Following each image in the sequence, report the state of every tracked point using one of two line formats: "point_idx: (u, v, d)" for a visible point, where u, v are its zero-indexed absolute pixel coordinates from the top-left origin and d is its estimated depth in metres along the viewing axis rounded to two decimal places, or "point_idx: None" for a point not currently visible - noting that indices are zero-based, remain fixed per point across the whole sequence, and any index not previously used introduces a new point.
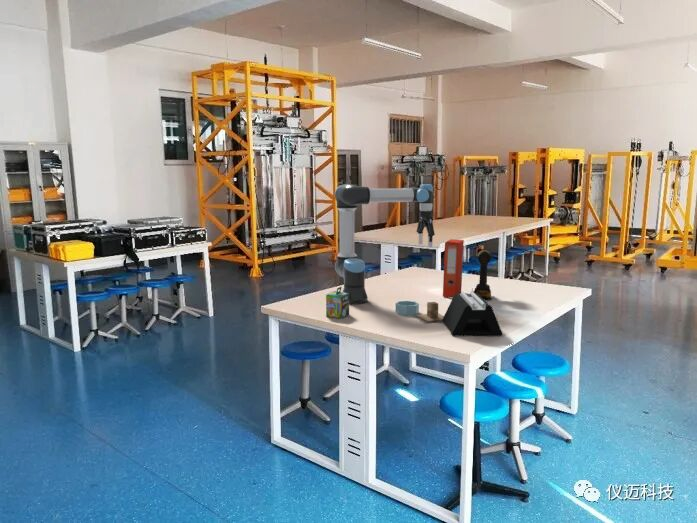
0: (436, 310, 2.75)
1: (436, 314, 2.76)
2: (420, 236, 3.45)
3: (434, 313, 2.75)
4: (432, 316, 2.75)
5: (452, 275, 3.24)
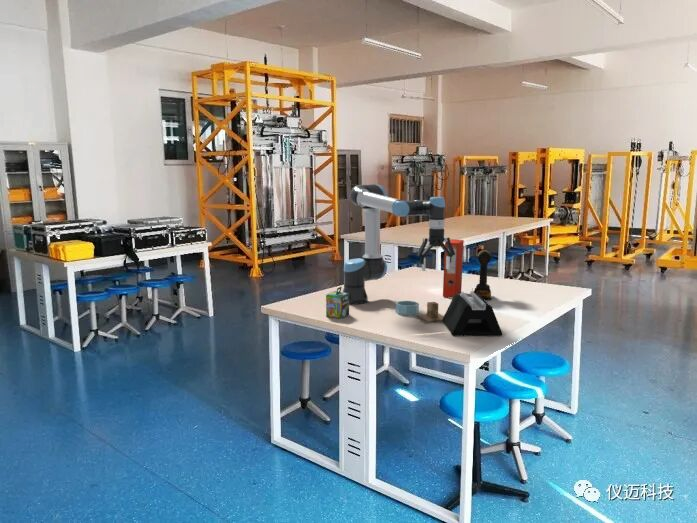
0: (436, 310, 2.75)
1: (436, 314, 2.76)
2: (447, 259, 2.87)
3: (434, 313, 2.75)
4: (432, 316, 2.75)
5: (452, 275, 3.24)
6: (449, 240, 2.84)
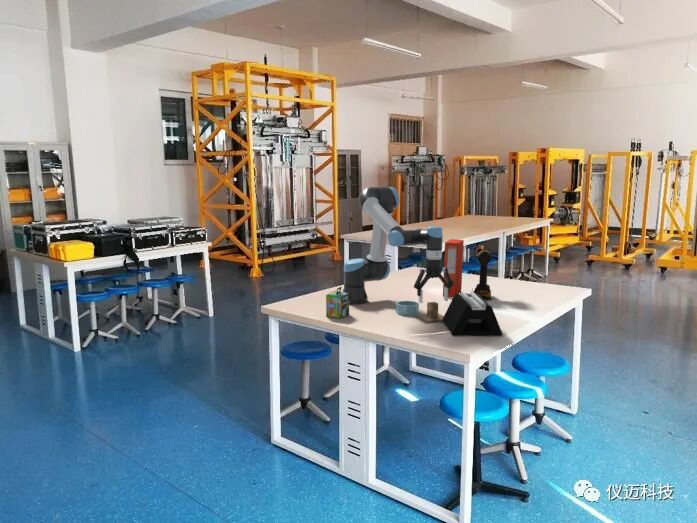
0: (436, 310, 2.75)
1: (436, 314, 2.76)
2: (445, 290, 2.77)
3: (434, 313, 2.75)
4: (432, 316, 2.75)
5: (452, 275, 3.24)
6: (447, 271, 2.75)
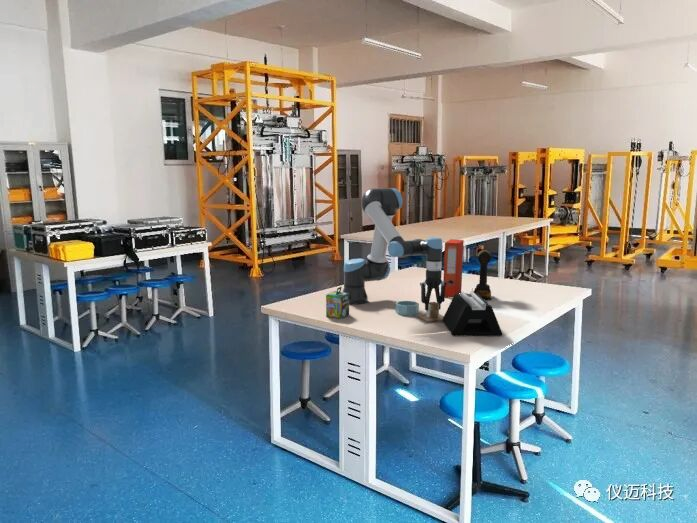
0: (436, 310, 2.75)
1: (436, 314, 2.76)
2: None
3: (434, 313, 2.75)
4: (432, 316, 2.75)
5: (452, 275, 3.24)
6: (445, 285, 2.76)
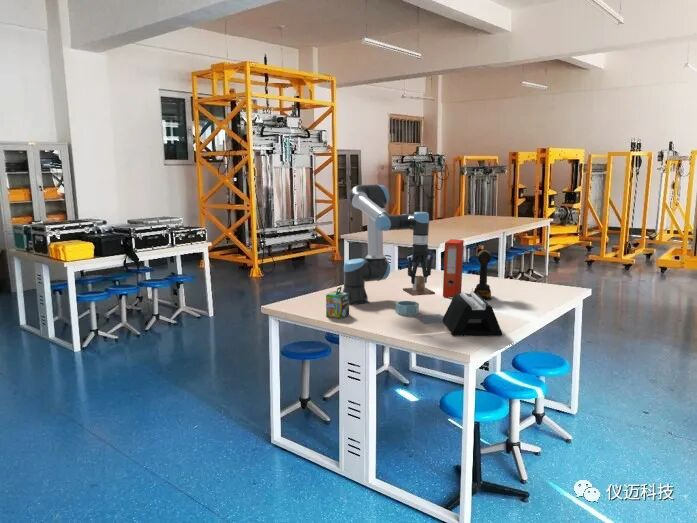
0: (422, 283, 2.80)
1: (422, 287, 2.81)
2: None
3: (420, 286, 2.80)
4: (418, 289, 2.80)
5: (452, 275, 3.24)
6: (431, 259, 2.80)
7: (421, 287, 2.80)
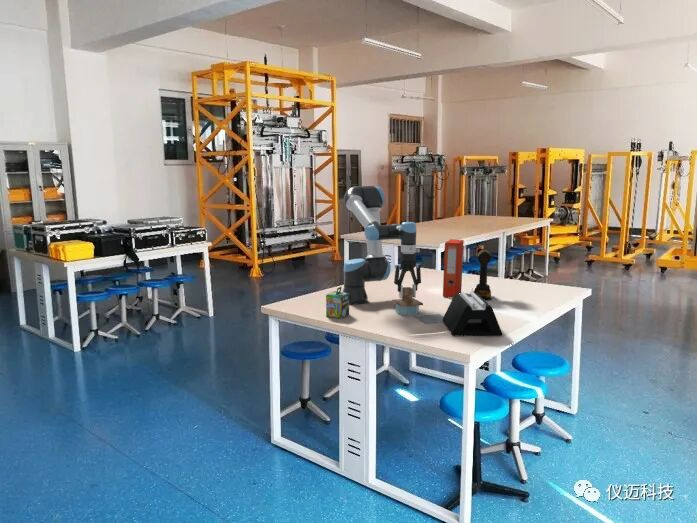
0: (410, 295, 2.86)
1: (411, 299, 2.87)
2: (413, 287, 2.89)
3: (409, 298, 2.86)
4: (407, 300, 2.86)
5: (452, 275, 3.24)
6: (420, 267, 2.87)
7: (409, 298, 2.87)
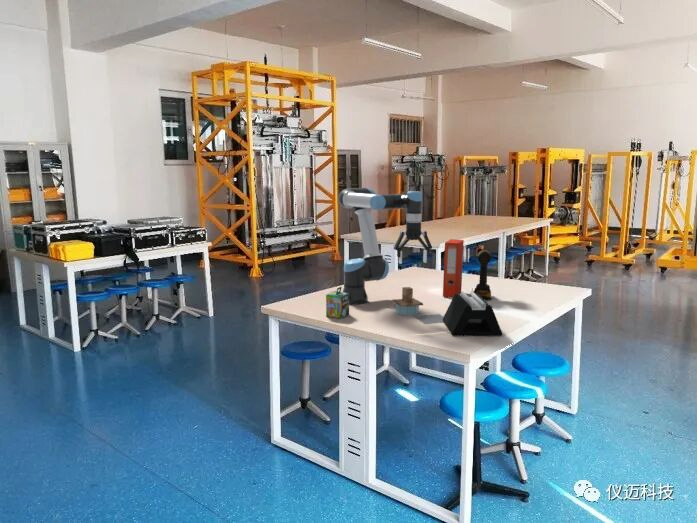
0: (410, 295, 2.86)
1: (411, 299, 2.87)
2: (424, 253, 2.92)
3: (409, 298, 2.86)
4: (407, 300, 2.86)
5: (452, 275, 3.24)
6: (426, 234, 2.89)
7: (409, 298, 2.87)
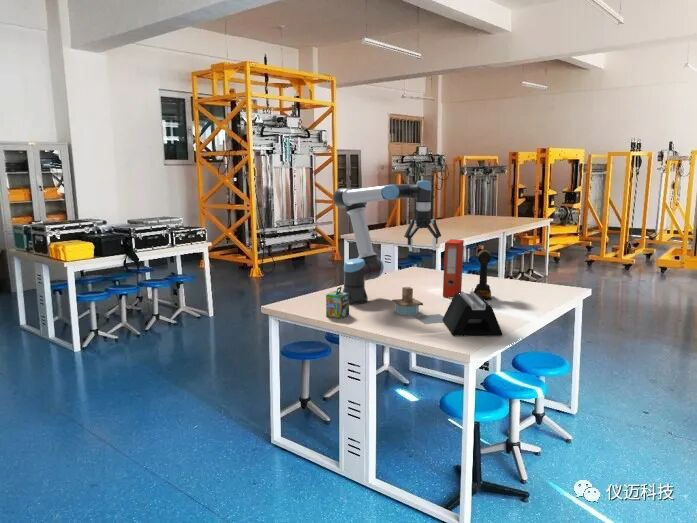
0: (410, 295, 2.86)
1: (411, 299, 2.87)
2: (433, 241, 3.00)
3: (409, 298, 2.86)
4: (407, 300, 2.86)
5: (452, 275, 3.24)
6: (435, 222, 2.98)
7: (409, 298, 2.87)
